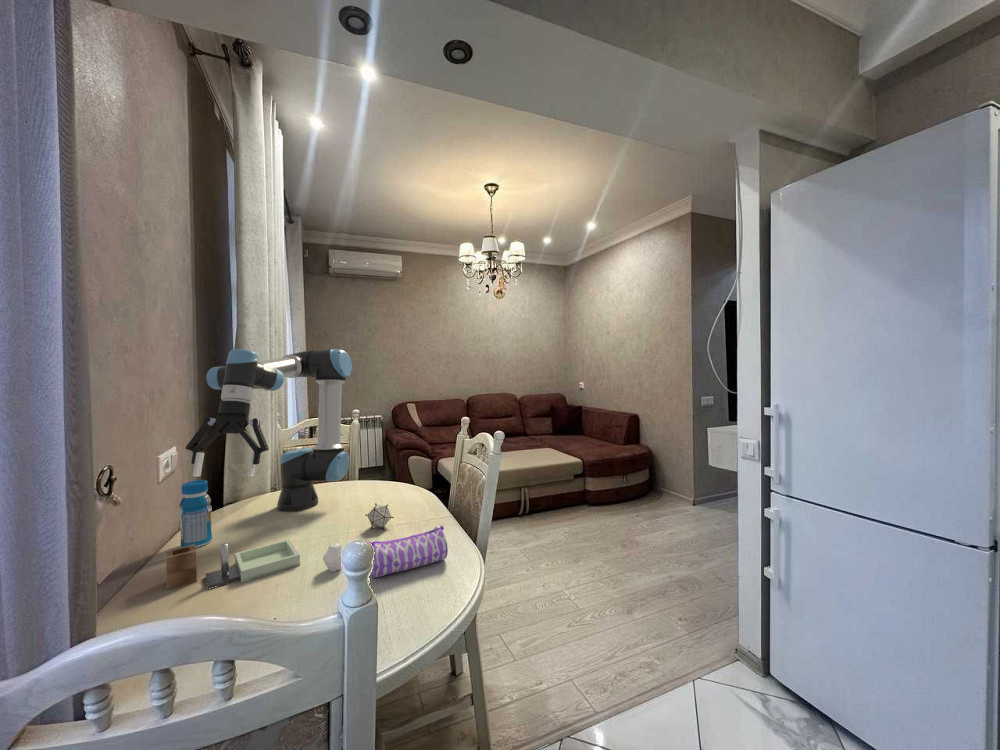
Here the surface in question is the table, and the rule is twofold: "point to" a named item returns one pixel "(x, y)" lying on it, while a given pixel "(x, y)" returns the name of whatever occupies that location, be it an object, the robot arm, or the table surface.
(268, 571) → the tray
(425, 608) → the table surface
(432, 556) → the pencil case
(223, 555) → the pin
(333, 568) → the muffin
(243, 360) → the robot arm
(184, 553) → the bore block
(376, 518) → the game die
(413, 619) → the table surface
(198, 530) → the beverage bottle
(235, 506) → the table surface
